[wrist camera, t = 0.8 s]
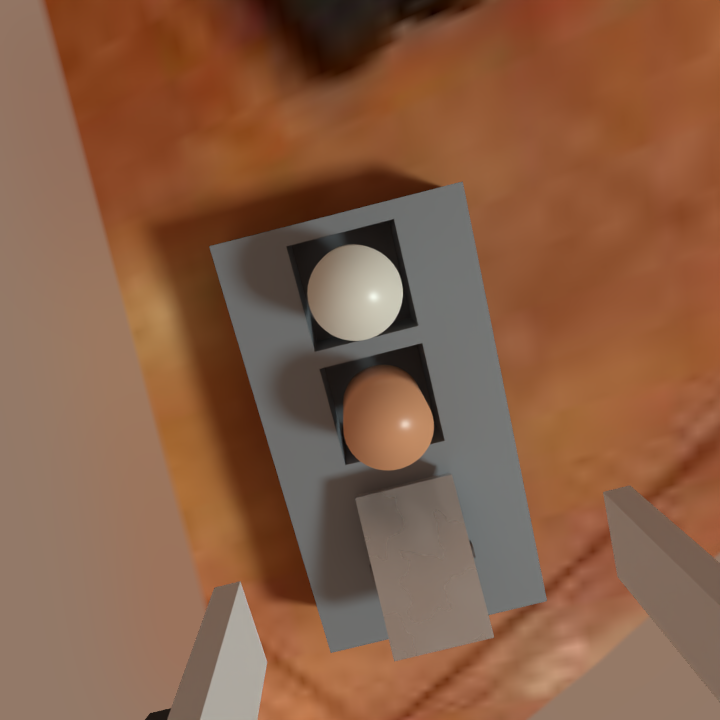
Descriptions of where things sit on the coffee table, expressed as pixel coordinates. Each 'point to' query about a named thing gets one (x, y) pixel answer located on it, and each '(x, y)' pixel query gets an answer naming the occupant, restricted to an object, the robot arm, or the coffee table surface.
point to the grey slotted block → (391, 347)
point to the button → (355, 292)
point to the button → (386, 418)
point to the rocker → (423, 567)
